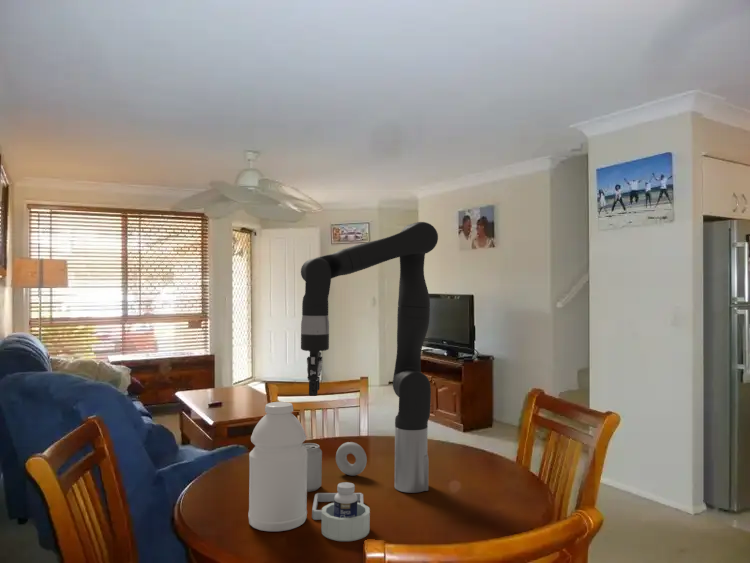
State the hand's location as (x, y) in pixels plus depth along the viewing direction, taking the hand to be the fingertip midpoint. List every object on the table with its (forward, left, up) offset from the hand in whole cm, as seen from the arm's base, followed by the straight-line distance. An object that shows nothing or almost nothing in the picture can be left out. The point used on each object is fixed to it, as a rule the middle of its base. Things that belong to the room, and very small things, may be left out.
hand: (314, 392), depth 153 cm
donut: (-10, -19, -28) cm, 36 cm away
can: (+2, -8, -28) cm, 29 cm away
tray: (-7, +8, -28) cm, 30 cm away
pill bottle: (-9, +21, -28) cm, 36 cm away
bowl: (-9, +21, -28) cm, 36 cm away
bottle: (+7, +15, -28) cm, 33 cm away
